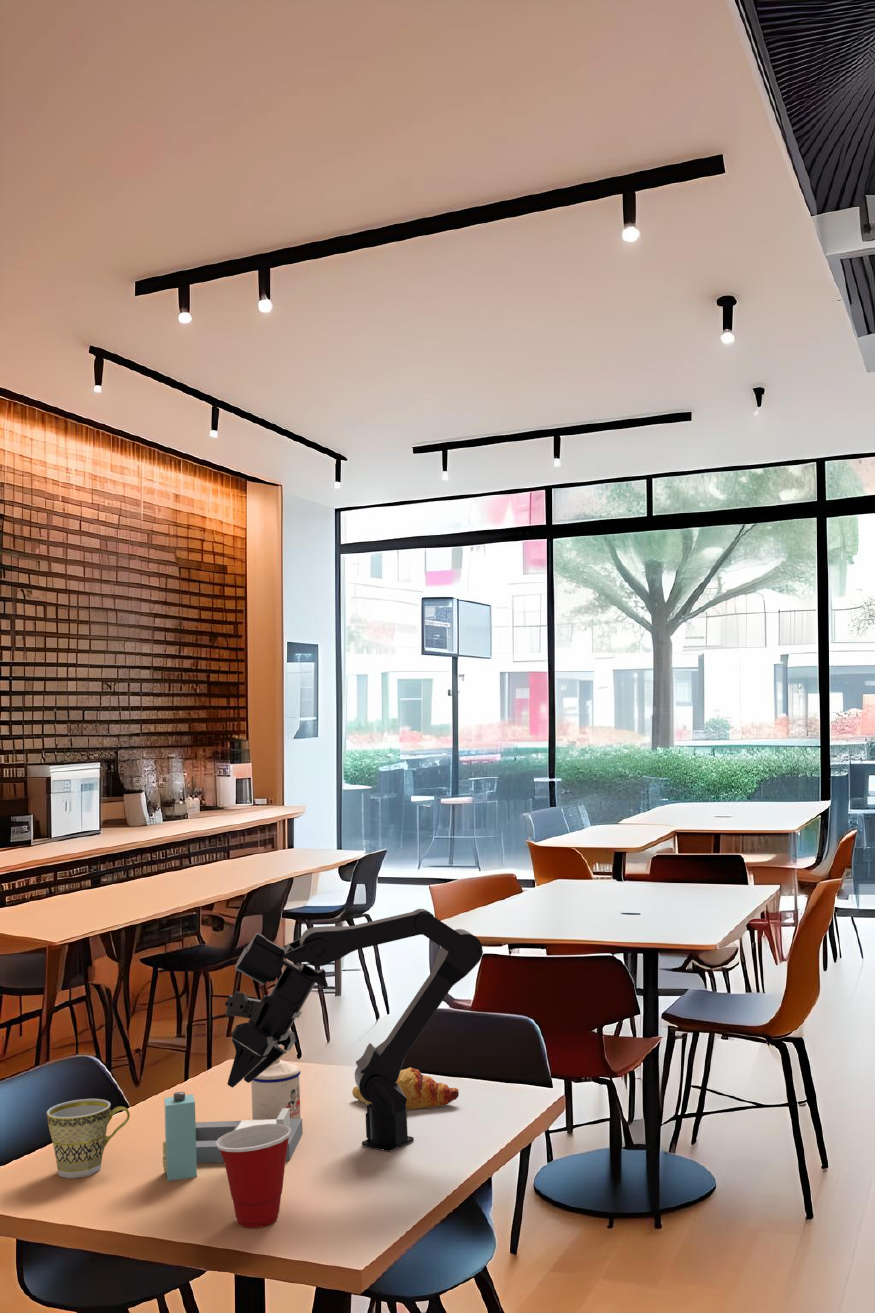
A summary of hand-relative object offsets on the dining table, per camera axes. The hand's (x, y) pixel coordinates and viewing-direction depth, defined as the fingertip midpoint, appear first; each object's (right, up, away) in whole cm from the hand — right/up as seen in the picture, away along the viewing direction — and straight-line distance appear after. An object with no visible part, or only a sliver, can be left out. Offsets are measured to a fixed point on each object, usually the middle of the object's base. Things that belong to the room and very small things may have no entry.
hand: (238, 1083), depth 187 cm
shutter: (+3, -10, +5) cm, 12 cm away
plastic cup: (+7, -10, -26) cm, 28 cm away
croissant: (+27, -14, +26) cm, 40 cm away
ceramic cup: (-24, -13, -2) cm, 27 cm away
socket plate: (-1, -13, +5) cm, 14 cm away
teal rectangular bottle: (-8, -12, -6) cm, 16 cm away
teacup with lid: (+4, -14, +19) cm, 24 cm away
